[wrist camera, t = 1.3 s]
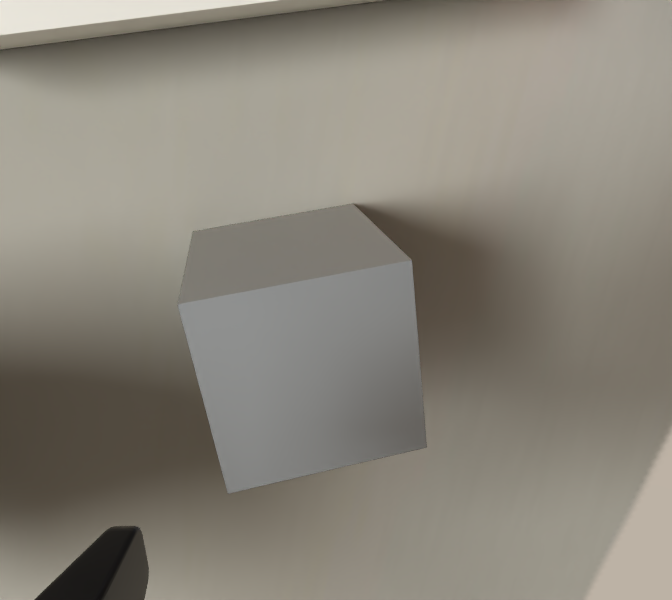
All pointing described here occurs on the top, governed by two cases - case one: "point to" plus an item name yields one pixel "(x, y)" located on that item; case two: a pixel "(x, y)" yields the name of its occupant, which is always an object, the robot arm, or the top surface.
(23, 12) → the tray
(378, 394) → the gray block
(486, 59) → the top surface
